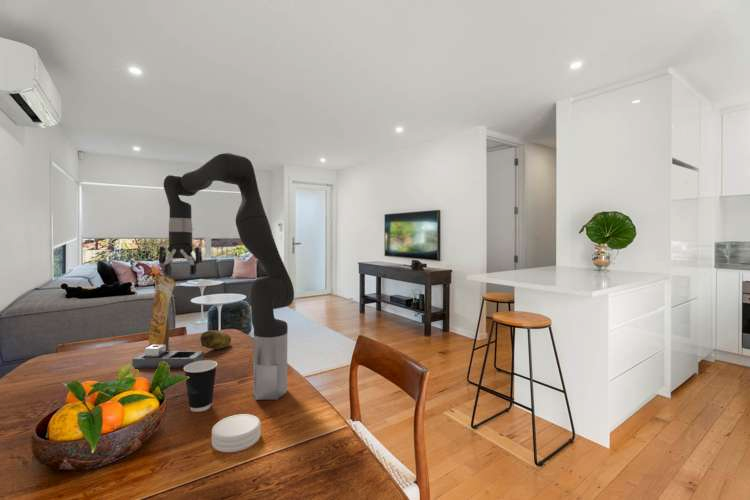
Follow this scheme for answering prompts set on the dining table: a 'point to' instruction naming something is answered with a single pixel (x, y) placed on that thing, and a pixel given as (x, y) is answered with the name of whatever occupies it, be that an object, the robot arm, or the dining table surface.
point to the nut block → (155, 351)
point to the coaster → (236, 433)
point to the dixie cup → (200, 384)
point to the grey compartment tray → (169, 359)
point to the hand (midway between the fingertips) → (180, 275)
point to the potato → (215, 339)
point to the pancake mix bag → (161, 311)
